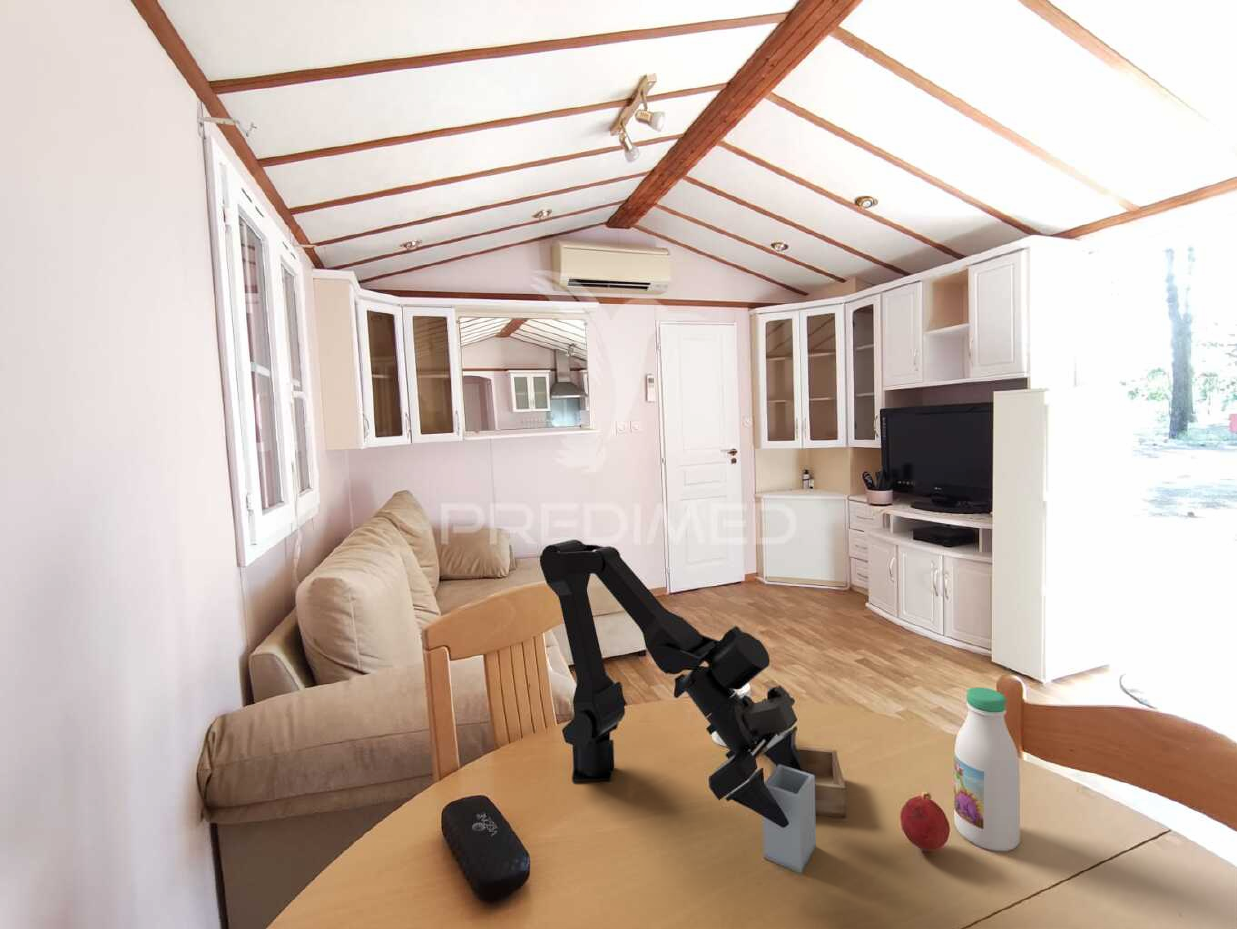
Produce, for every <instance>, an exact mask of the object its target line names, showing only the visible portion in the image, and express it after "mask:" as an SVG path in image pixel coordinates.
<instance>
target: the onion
mask: <svg viewBox="0 0 1237 929" xmlns="http://www.w3.org/2000/svg"><path fill="white" fill-rule="evenodd" d="M931 798H932V795H931V794H930V792H928V791H922V792H921V793H920V794H919V795H917V796H914V797H911V798H909V799H908V800H907V801H905V804H904V805H903V806H902V807H901V811H900V818H899V819H900V825H901V829H902V831H903V834H904V835H905V837H906V838H907V839H908V840H909V842H910V843H911V844H912V845H914V846H915V847H917V848H919V849H920V850H922V851H923V852H931V851H935V850H938V849H939V848H941V847H944V846H945V845H946V843H947V842H948V839H949V837H950V831H951V827H950V826H951V825H950V822H949V820H948V818H947V816H946V813H945V812H944V810H943V809H942V807H941V806H940V805H938V803H937V802H935V801H934V800H932V799H931Z"/></svg>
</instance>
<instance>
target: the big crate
mask: <svg viewBox="0 0 1237 929" xmlns="http://www.w3.org/2000/svg"><path fill="white" fill-rule="evenodd" d="M796 748H797V751H798V754H799V756H800V759H801V761H802V763H803V766H804V768H805V770H806V773H809V774H812V775H815V816H816V815H817V816H826V817H835V818H842V819H847V809H846V808H847V805H846V803H847V800H846V798H847V797H846V796H847V794H846V788H847V787H846V785H845V782H844V777H843V774H842V770H841V765H840V762H839V761H840V760H839V758H838V754H837V750H835V749H823V748H812V747H803V746H802V747H799V746H796ZM769 760H770V759H769ZM776 767H777V765H775V764H774V763H773V762H772V761H771V760H770V775H771V774H772V772H773V771H774V770H775V769H776Z"/></svg>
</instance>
